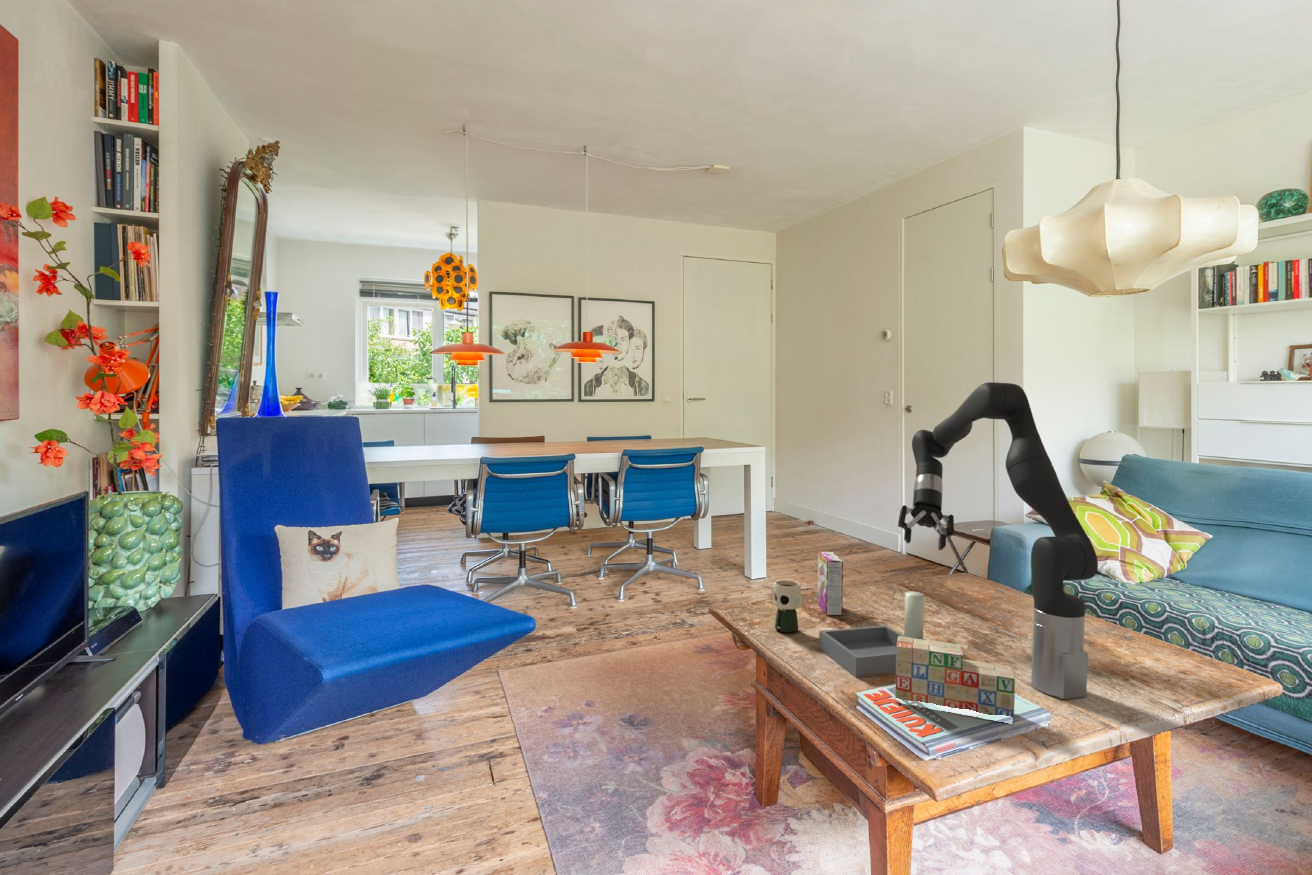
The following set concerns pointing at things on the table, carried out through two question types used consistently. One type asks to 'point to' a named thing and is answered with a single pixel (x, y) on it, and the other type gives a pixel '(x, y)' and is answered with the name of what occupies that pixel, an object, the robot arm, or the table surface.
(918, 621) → the canister
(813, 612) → the table surface
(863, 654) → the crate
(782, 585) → the character mug
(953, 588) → the table surface
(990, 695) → the stack of blocks
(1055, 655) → the robot arm
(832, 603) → the candy bar box
